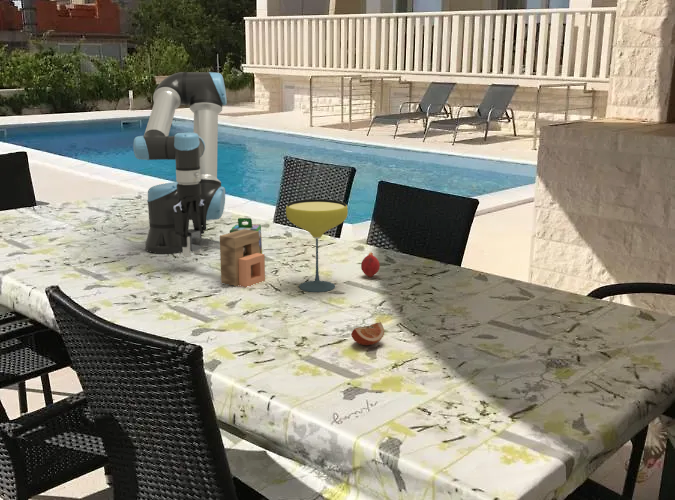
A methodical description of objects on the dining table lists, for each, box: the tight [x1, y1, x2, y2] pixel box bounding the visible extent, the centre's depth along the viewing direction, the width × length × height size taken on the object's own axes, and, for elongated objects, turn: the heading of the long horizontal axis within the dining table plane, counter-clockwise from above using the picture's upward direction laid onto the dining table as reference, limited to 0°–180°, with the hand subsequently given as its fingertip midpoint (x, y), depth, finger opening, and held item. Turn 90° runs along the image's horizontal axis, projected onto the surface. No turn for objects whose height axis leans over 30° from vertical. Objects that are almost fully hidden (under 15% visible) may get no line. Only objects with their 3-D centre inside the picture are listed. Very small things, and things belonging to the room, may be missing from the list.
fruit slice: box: [350, 321, 385, 346], centre depth 182 cm, size 8×7×5 cm
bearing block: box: [219, 229, 259, 287], centre depth 232 cm, size 6×11×15 cm, turn 146°
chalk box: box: [229, 217, 263, 254], centre depth 255 cm, size 9×9×15 cm
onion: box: [360, 251, 381, 278], centre depth 236 cm, size 6×6×8 cm
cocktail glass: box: [285, 198, 349, 293], centre depth 224 cm, size 18×18×25 cm
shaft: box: [188, 228, 247, 254], centre depth 237 cm, size 24×4×6 cm, turn 56°
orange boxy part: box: [238, 253, 266, 288], centre depth 230 cm, size 3×8×8 cm, turn 146°
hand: (192, 254), depth 243 cm, fingers closed on shaft, 4 cm apart
